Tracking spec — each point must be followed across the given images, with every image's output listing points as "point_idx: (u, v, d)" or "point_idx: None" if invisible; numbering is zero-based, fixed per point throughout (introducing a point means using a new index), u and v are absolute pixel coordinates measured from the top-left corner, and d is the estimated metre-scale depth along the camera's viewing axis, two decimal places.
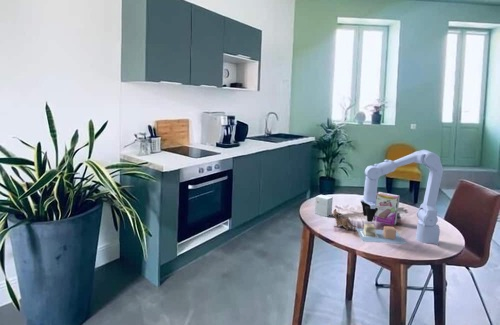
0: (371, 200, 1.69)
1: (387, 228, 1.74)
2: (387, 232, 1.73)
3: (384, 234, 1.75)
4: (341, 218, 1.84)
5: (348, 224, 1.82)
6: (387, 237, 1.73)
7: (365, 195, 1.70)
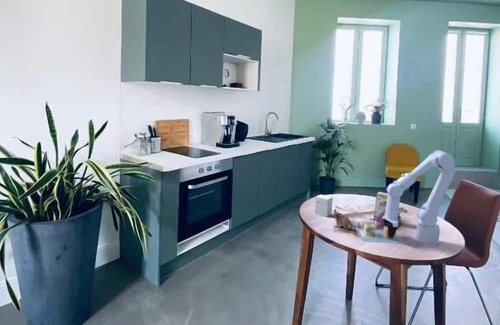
0: (393, 218, 1.70)
1: (387, 228, 1.74)
2: (387, 232, 1.73)
3: (384, 234, 1.75)
4: (341, 218, 1.84)
5: (348, 224, 1.82)
6: (387, 237, 1.73)
7: (387, 213, 1.72)
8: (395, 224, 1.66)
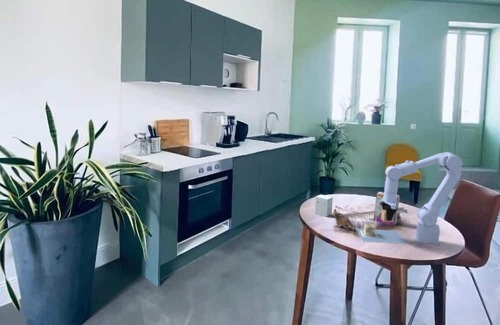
0: (391, 200, 1.69)
1: (385, 211, 1.73)
2: (385, 215, 1.71)
3: (382, 217, 1.74)
4: (341, 218, 1.84)
5: (348, 224, 1.82)
6: (385, 220, 1.72)
7: (385, 195, 1.70)
8: (393, 206, 1.65)
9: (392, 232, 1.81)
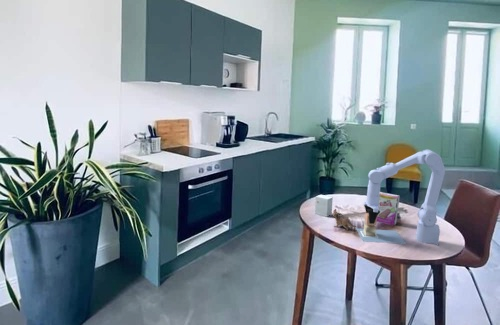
0: (374, 203, 1.72)
1: (368, 214, 1.75)
2: (368, 218, 1.74)
3: (365, 220, 1.77)
4: (341, 218, 1.84)
5: (348, 224, 1.82)
6: (368, 223, 1.74)
7: (368, 198, 1.73)
8: (375, 209, 1.68)
9: (392, 232, 1.81)
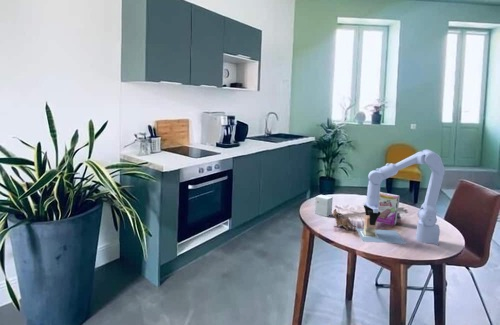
0: (374, 204, 1.72)
1: (368, 217, 1.76)
2: (368, 220, 1.74)
3: (365, 223, 1.77)
4: (341, 218, 1.84)
5: (348, 224, 1.82)
6: (368, 226, 1.75)
7: (368, 199, 1.73)
8: (375, 210, 1.68)
9: (392, 232, 1.81)
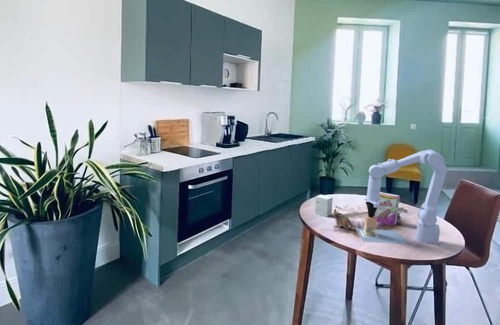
0: (374, 199, 1.71)
1: (368, 217, 1.76)
2: (368, 220, 1.74)
3: (365, 223, 1.77)
4: (341, 218, 1.84)
5: (348, 224, 1.82)
6: (368, 226, 1.75)
7: (368, 194, 1.73)
8: (376, 205, 1.67)
9: (392, 232, 1.81)
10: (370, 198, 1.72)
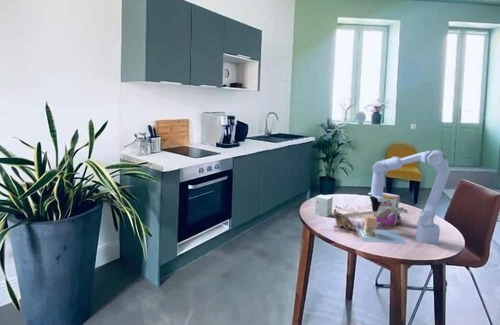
0: (378, 193, 1.78)
1: (368, 217, 1.76)
2: (368, 220, 1.74)
3: (365, 223, 1.77)
4: (341, 218, 1.84)
5: (348, 224, 1.82)
6: (368, 226, 1.75)
7: (373, 189, 1.80)
8: (380, 199, 1.74)
9: (392, 232, 1.81)
10: (374, 193, 1.79)
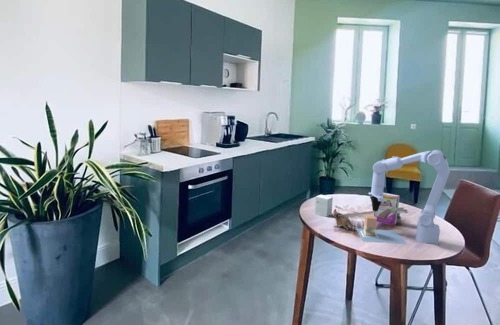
0: (378, 193, 1.79)
1: (368, 217, 1.76)
2: (368, 220, 1.74)
3: (365, 223, 1.77)
4: (341, 218, 1.84)
5: (348, 224, 1.82)
6: (368, 226, 1.75)
7: (373, 188, 1.80)
8: (380, 199, 1.75)
9: (392, 232, 1.81)
10: (374, 192, 1.79)
